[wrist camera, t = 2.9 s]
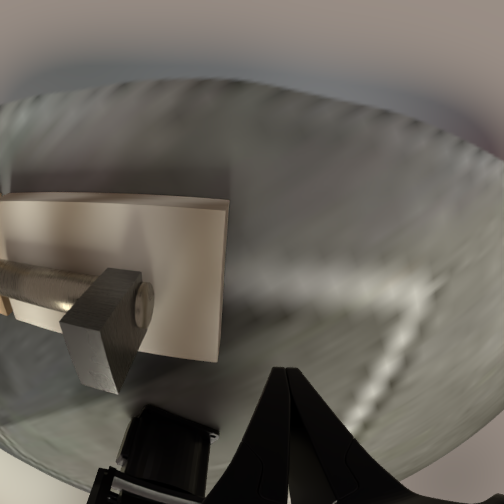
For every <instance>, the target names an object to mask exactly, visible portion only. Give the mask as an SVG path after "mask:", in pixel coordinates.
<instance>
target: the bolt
mask: <svg viewBox="0 0 504 504" xmlns="http://www.w3.org/2000/svg"><path fill="white" fill-rule="evenodd" d="M0 295H2V296H5V297H8V298H11V299H15V300H18V301H22V302H25V303H28V304H32V305H36V306H39V307H43V308H47V309H51V310H55V311H59V312H63V313H66V314H65V315H64V316H63V317H62V318H61V320H60V321H59V324H60V327H61V330H62V333H63V336H64V339H65V342H66V345H67V348H68V351H69V353H70V356H71V359H72V361H73V364H74V367H75V369H76V372H77V374H78V376H79V379H80V381H81V384H83V385H86V386H89V387H93V388H96V389H100V390H103V391H107V392H111V393H114V394H119V392H120V390H121V387H122V385H123V383H124V381H125V378H126V376H127V374H128V371H129V369H130V367H131V365H132V363H133V360H134V358H135V356H136V354H137V352H138V350H139V347H140V345H141V343H142V341H143V339H144V337H145V335H146V332H147V330H148V326H149V324H150V322H151V319H152V315H153V309H154V290H153V286H152V284H151V283H150V282H142V272H140V271H132V270H124V269H116V268H107V269H106V270H105V271H104V272H103V273H102V274H101V275H100V276H98V275H92V274H85V273H79V272H72V271H66V270H60V269H54V268H48V267H42V266H37V265H31V264H26V263H20V262H15V261H10V260H5V259H0Z"/></svg>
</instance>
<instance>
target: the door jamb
mask: <svg viewBox="0 0 504 504" xmlns="http://www.w3.org/2000/svg"><path fill="white" fill-rule="evenodd" d="M229 201H230V200H224V199H211V198H198V197H183V196H167V195H148V194H125V193H89V192H26V193H8V194H6V195H3V196H2V195H1V193H0V259H5V260H10V261H15V262H20V263H26V264H31V265H37V266H42V267H48V268H54V269H60V270H66V271H72V272H79V273H85V274H92V275H98V276H100V275H101V274H102V273H103V272H104V271H105V270H106V269H107V268H116V269H124V270H132V271H140V272H142V282H150V283H151V284H152V286H153V290H154V309H153V315H152V319H151V322H150V324H149V326H148V330H147V332H146V335H145V337H144V339H143V341H142V343H141V345H140V347H139V350H138V351H140V352H146V353H152V354H158V355H164V356H170V357H177V358H184V359H191V360H199V361H208V362H217V361H218V354H219V347H220V340H221V322H222V304H223V287H224V271H225V255H226V241H227V227H228V214H229ZM12 311H14V314H15V317H16V319H18V320H21V321H24V322H26V323H30V324H33V325H36V326H39V327H42V328H45V329H49V330H52V331H55V332H59V333H62V330H61V327H60V324H59V321H60V320H61V318H62V317H63V316H64V315H65V314H66V313H63V312H59V311H55V310H51V309H47V308H43V307H39V306H36V305H32V304H28V303H25V302H22V301H18V300H15V299H11V298H8V297H5V296H2V295H0V313H1V314H4V315H6V316H8V315H9V314H10V313H11V312H12ZM62 334H63V333H62Z"/></svg>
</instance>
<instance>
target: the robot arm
mask: <svg viewBox="0 0 504 504" xmlns="http://www.w3.org/2000/svg"><path fill="white" fill-rule="evenodd" d="M219 434H220V433H219V432H218V431H216V430H213V429H210V428H208V427H205V426H202V425H199V424H196V423H193V422H191V421H188V420H185V419H183V418H180V417H178V416H175V415H173V414H170V413H168V412H165V411H163V410H160V409H158V408H156V407H154V406H151V405H145V406H144V408H143V410H142V411H141V413H140V415H139V416H138V417H136V416H135V417H132V419H131V421H130V423H129V425H128V427H127V429H126V432H125V435H124V438H123V441H122V444H121V447H120V450H119V453H118V456H117V459H116V463H117V464H118V465H120V466H122V467H121V471H118V470H116V468H114V467H111V466H109V469H103V468H99V469H98V472H97V475H96V478H95V481H94V484H93V487H92V490H91V492H90V495H89V498H88V501H87V504H287V499H288V484H289V491H290V498H291V504H467V503H459V502H453V501H447V500H441V499H436V498H431V497H426V496H422V495H419V494H416V493H414V492H412V491H410V490H409V489H407V488H406V487H405V486H403V485H402V484H401V483H400V482H399V481H398V480H396V479H395V478H394V477H393V476H392V475H391V474H390V473H388V472H387V471H386V470H385V469H384V468H383V467H382V466H380V465H379V464H378V463H377V462H376V461H375V460H374V459H373V458H372V457H371V456H370V455H369V454H368V453H367V452H366V450H365V449H364V448H363V447H362V446H361V445H360V444H359V442H358V441H357V440H356V439H355V438H354V437H353V435H352V434H351V433H350V432H349V431H348V429H347V428H346V427H345V426H344V425H343V423H342V422H341V421H340V420H339V418H338V417H337V416H336V415H335V414H334V412H333V411H332V410H331V409H330V407H329V406H328V405H327V404H326V402H325V401H324V400H323V399H322V397H321V396H320V395H319V394H318V392H317V391H316V390H315V389H314V387H313V386H312V385H311V384H310V382H309V381H308V380H307V379H306V377H305V376H304V375H303V374H302V372H301V371H300V370H299V369H298V368H293V367H287V368H284V367H273V368H272V370H271V372H270V375H269V377H268V380H267V382H266V385H265V387H264V390H263V392H262V394H261V397H260V399H259V402H258V404H257V406H256V409H255V411H254V413H253V416H252V418H251V420H250V423H249V425H248V427H247V429H246V432H245V434H244V436H243V438H242V442H241V443H240V445H239V447H238V449H237V451H236V453H235V455H234V457H233V459H232V461H231V463H230V464H229V466H228V467H227V469H226V471H225V472H224V474H223V475H222V477H221V478H220V479H219V481H218V482H217V483H216V485H215V486H214V487H213V489H212V490H211V491H210V493H209V494H208V495H207V497H205V490H206V480H207V471H208V462H209V453H210V445H211V444H212V443H213V442H215V441H216V440H217V439H218V438H219ZM353 438H354V439H353ZM111 488H113V489H115V490H118V491H120V493H119V494H117V493H114V492H112V491H110V490H111ZM476 504H504V495H503V494H499V493H497V494H495V495H493V496H492V497H490V498H489V499H487V500H486V501H484V502H481V503H476Z"/></svg>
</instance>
